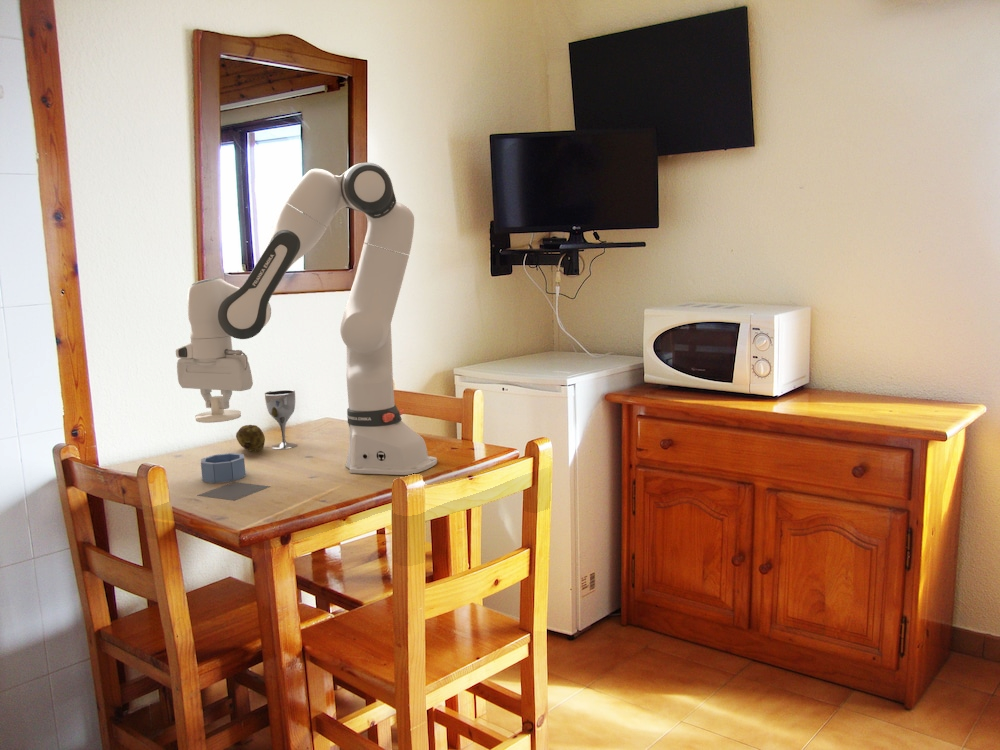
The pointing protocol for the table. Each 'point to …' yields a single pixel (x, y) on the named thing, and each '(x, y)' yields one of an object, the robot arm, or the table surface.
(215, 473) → the bowl
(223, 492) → the mat
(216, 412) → the lid
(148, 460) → the table surface
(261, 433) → the potato
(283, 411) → the silver goblet
